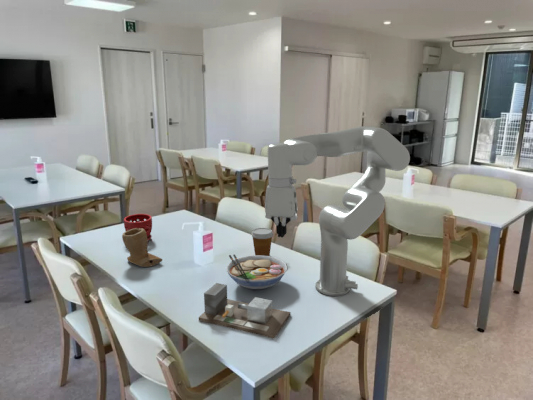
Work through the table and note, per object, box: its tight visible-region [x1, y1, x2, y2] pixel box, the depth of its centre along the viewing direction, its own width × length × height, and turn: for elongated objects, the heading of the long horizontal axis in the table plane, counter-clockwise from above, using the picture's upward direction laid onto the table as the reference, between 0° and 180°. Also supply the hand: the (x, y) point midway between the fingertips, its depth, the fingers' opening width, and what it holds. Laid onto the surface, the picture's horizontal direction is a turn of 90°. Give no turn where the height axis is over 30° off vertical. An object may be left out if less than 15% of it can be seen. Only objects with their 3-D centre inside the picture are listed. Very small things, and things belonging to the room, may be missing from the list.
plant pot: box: [123, 213, 153, 242], centre depth 200 cm, size 13×13×12 cm
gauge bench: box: [198, 282, 291, 339], centre depth 131 cm, size 26×14×8 cm, turn 67°
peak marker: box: [222, 304, 234, 317], centre depth 130 cm, size 2×5×3 cm, turn 157°
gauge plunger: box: [238, 296, 274, 324], centre depth 130 cm, size 10×6×5 cm, turn 67°
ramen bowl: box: [226, 254, 288, 290], centre depth 154 cm, size 25×23×8 cm
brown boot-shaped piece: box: [121, 228, 163, 268], centre depth 173 cm, size 15×12×15 cm
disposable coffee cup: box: [251, 227, 274, 256], centre depth 180 cm, size 10×10×12 cm
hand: (281, 235), depth 136 cm, fingers closed
